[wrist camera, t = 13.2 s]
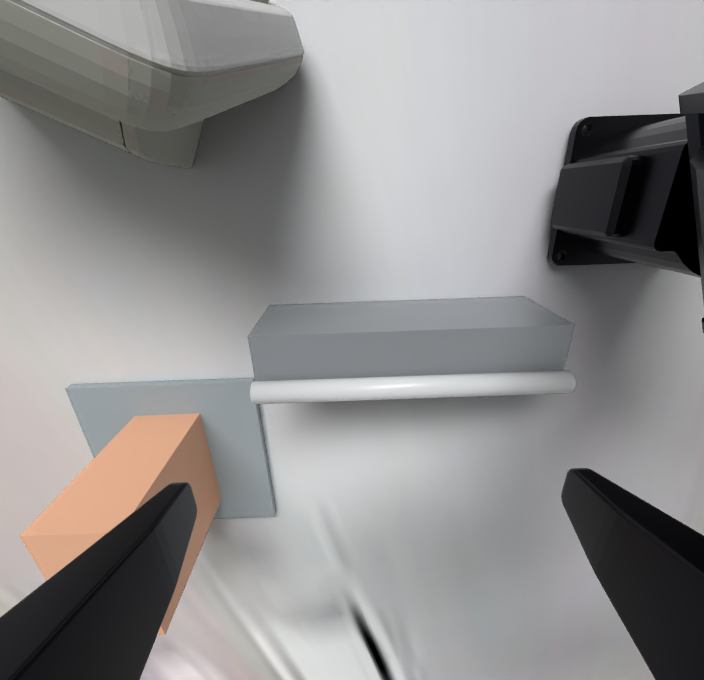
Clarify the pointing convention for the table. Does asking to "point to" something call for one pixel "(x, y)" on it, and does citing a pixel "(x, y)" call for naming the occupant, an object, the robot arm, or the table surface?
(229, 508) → the mat
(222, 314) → the table surface
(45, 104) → the digital clock
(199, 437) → the peach rectangular block
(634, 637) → the robot arm
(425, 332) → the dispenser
